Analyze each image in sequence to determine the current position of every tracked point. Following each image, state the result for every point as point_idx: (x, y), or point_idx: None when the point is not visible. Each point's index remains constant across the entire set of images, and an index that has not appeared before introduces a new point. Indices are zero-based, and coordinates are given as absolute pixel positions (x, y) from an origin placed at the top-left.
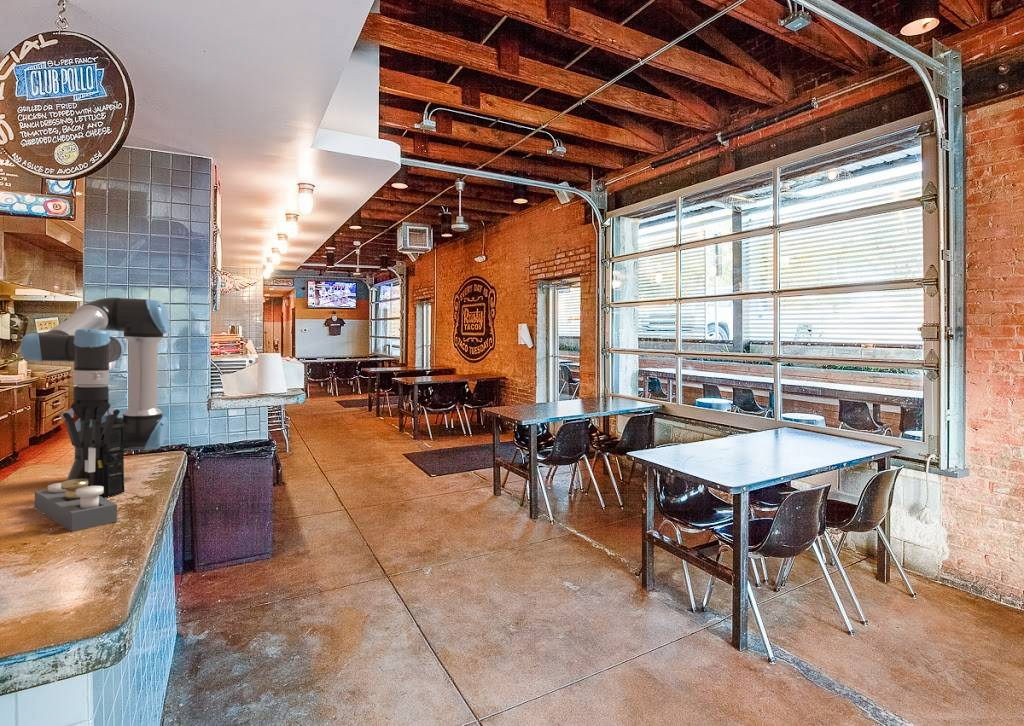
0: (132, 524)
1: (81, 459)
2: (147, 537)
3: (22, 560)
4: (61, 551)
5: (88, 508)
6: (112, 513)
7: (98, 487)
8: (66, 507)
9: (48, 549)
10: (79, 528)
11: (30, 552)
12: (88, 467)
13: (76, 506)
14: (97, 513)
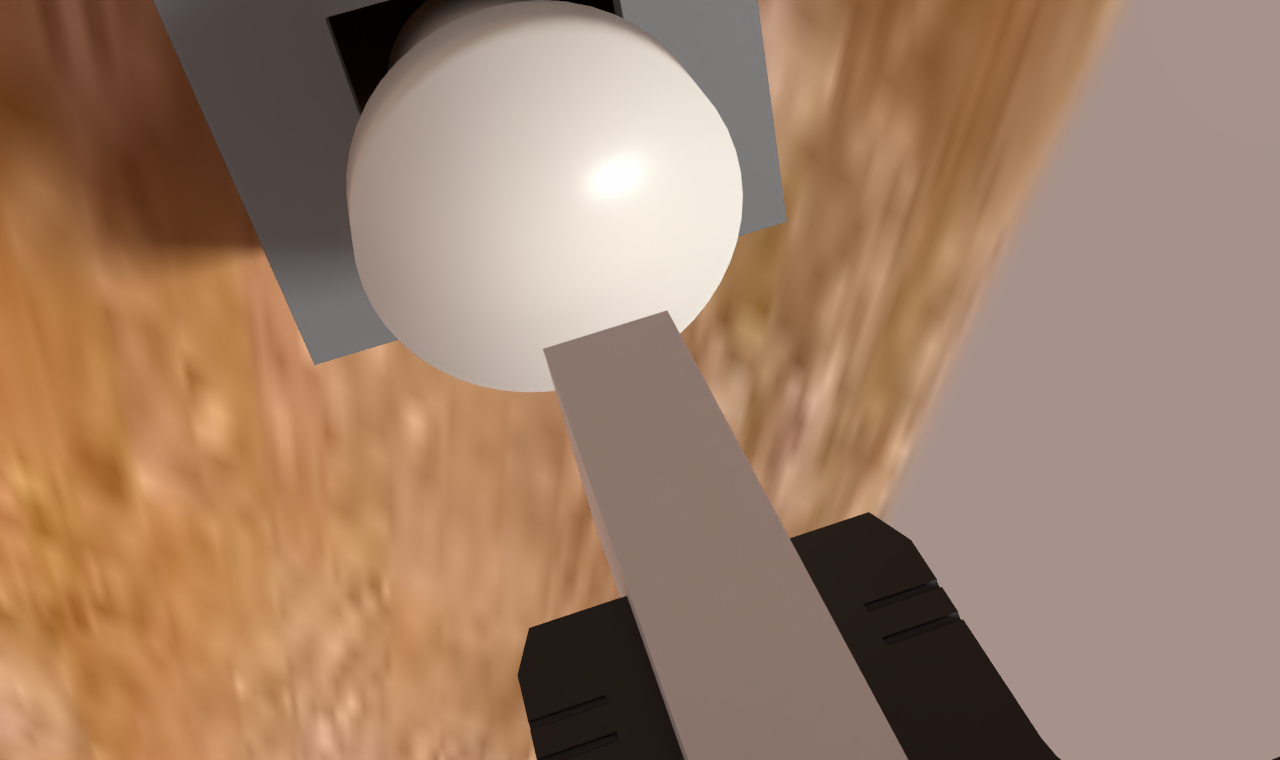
0: (810, 277)
1: (528, 642)
2: None
3: (27, 755)
4: (269, 682)
5: None
6: None
7: (674, 210)
8: (218, 51)
9: (168, 616)
10: None
11: (40, 631)
12: (617, 587)
13: (344, 5)
14: None
